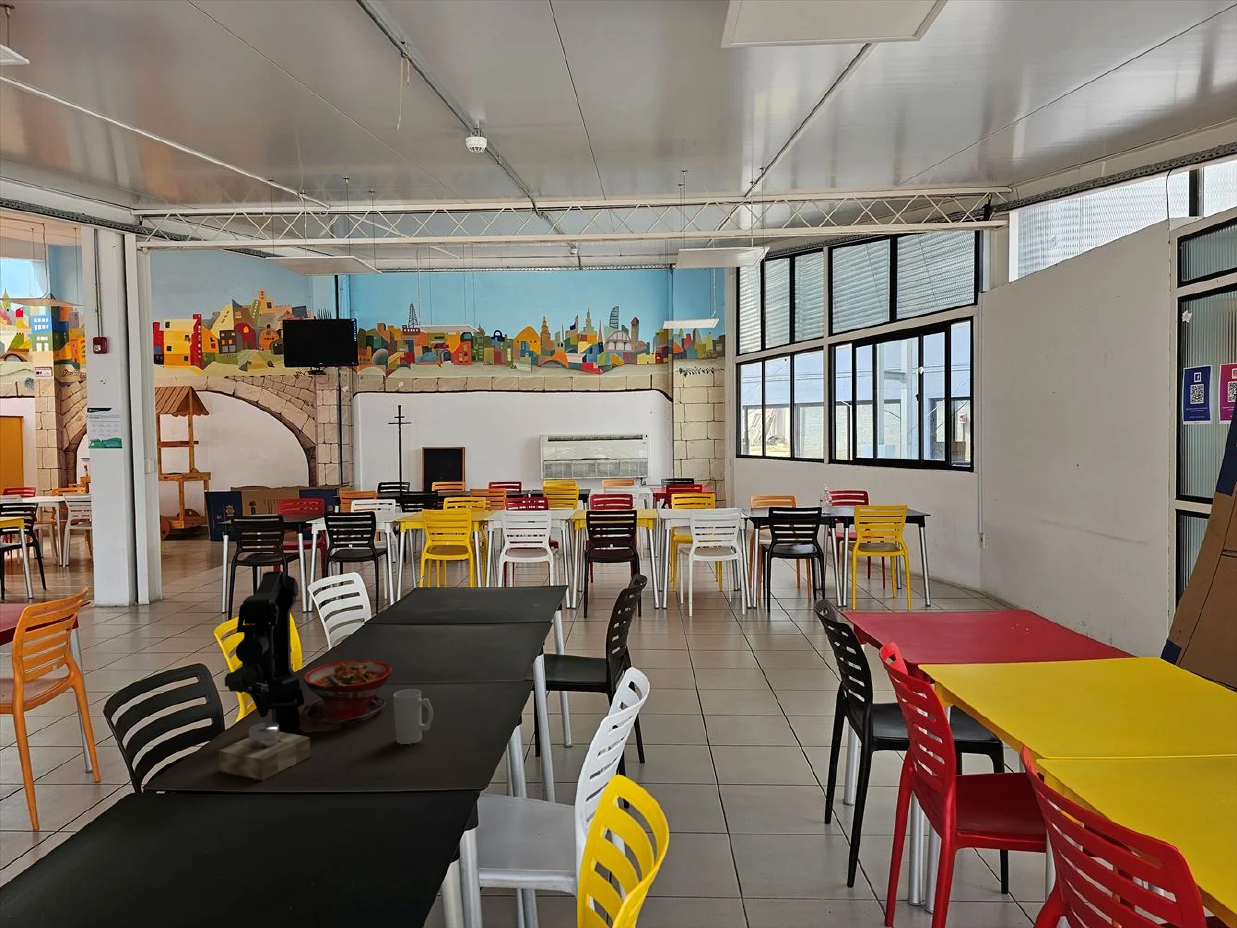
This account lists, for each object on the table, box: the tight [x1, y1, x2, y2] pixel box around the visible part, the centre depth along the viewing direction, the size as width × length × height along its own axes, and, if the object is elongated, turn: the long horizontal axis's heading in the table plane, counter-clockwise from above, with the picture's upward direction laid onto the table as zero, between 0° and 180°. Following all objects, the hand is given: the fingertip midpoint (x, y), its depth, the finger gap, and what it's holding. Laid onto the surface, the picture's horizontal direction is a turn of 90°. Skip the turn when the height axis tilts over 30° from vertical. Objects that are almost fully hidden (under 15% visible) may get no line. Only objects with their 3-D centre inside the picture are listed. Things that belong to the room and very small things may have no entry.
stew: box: [297, 659, 394, 733], centre depth 226 cm, size 28×24×16 cm
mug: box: [393, 688, 434, 745], centre depth 207 cm, size 10×7×12 cm, turn 78°
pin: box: [248, 721, 280, 750], centre depth 194 cm, size 7×7×9 cm
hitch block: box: [218, 732, 311, 780], centre depth 194 cm, size 14×14×5 cm
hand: (263, 716), depth 194 cm, fingers closed
